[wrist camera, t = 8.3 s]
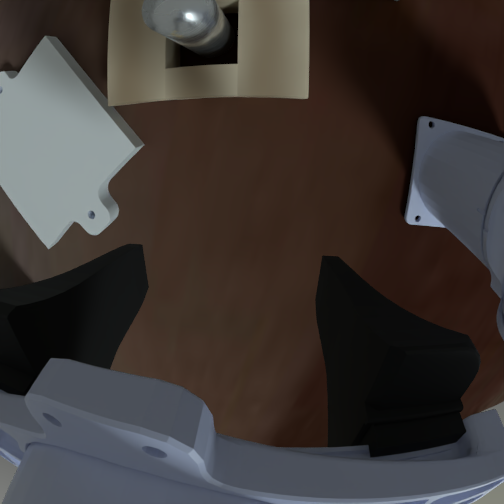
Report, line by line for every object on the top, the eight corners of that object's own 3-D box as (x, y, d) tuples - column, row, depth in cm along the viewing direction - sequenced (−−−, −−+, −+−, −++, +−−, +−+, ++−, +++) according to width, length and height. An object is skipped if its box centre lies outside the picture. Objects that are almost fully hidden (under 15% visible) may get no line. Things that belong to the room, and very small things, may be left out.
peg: (238, 19, 16) (215, -25, 9) (230, 59, 17) (202, 35, 10) (193, 17, 16) (149, -23, 9) (186, 56, 17) (136, 34, 10)
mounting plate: (-19, 129, 20) (-31, 133, 18) (47, 22, 16) (33, 20, 14) (77, 259, 26) (66, 270, 24) (168, 169, 21) (158, 175, 20)
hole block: (304, -9, 14) (308, -25, 12) (303, 99, 18) (308, 98, 15) (130, 4, 15) (111, -6, 12) (128, 104, 19) (108, 106, 16)
